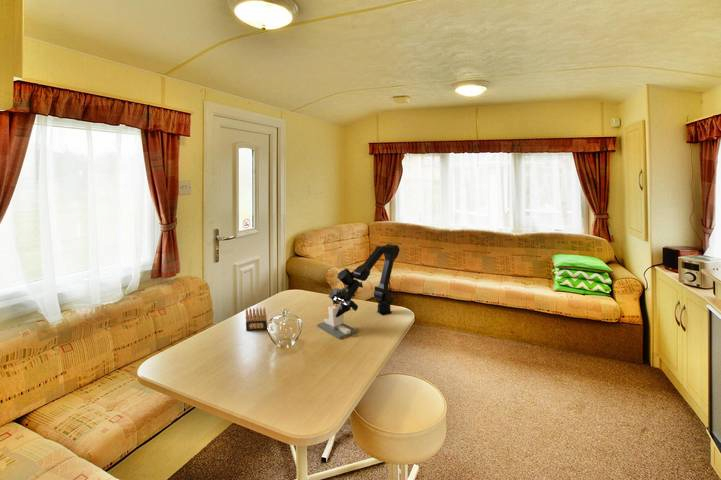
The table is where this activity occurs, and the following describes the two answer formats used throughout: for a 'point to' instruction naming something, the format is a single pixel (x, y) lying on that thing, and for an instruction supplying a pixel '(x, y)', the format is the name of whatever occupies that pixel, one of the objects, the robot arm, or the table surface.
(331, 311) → the block
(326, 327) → the mounting board
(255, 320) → the ammunition clip
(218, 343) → the table surface
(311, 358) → the table surface
